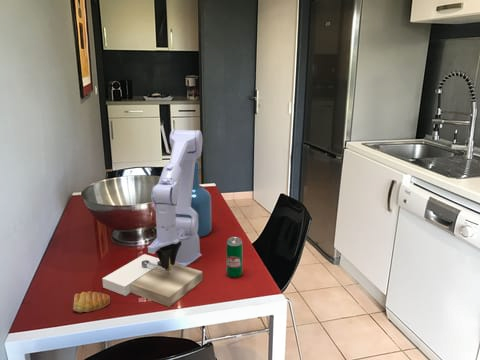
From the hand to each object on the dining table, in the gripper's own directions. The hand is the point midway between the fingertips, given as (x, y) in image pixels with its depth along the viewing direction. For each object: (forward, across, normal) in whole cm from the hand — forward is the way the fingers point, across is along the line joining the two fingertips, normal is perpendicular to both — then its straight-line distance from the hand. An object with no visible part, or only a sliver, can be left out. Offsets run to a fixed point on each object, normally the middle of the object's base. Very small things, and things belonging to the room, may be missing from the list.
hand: (168, 265), depth 119 cm
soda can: (+6, +14, -15) cm, 21 cm away
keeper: (+2, +1, +4) cm, 4 cm away
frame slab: (+6, -3, +10) cm, 12 cm away
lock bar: (+2, 0, +5) cm, 5 cm away
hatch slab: (+6, -2, -1) cm, 6 cm away
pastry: (+6, -20, +11) cm, 24 cm away
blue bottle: (+6, +35, +15) cm, 38 cm away
